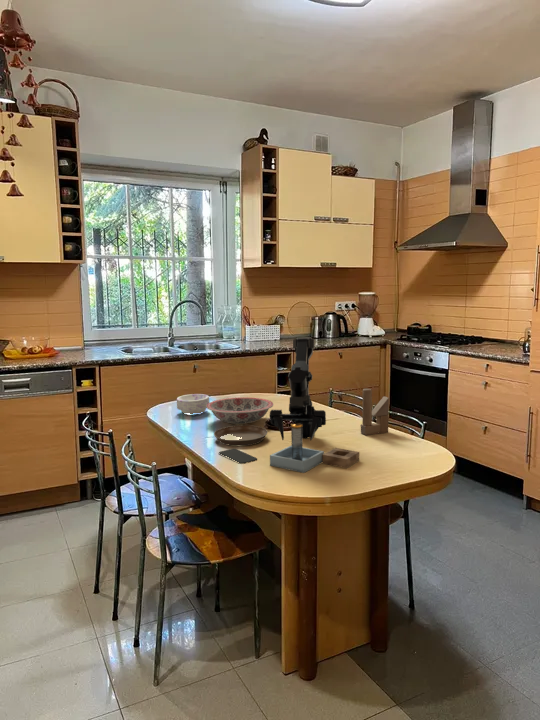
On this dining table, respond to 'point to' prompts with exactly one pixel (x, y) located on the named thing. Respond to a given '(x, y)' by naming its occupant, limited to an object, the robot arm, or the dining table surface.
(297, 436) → the pin
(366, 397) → the wooden bracket stand
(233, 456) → the phone
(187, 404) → the white purple bowl
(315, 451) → the tray
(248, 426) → the plant saucer
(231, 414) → the ceramic bowl
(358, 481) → the dining table surface
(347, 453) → the brown square socket base
